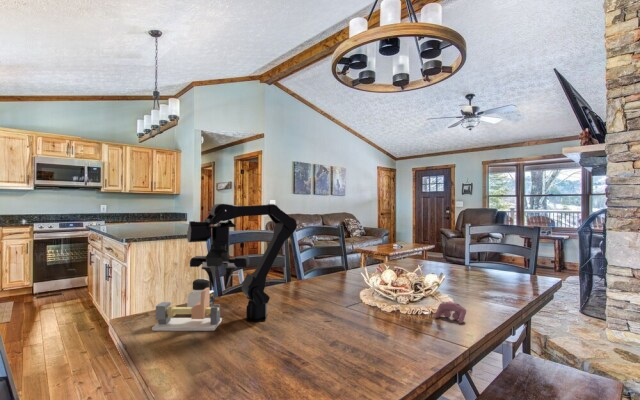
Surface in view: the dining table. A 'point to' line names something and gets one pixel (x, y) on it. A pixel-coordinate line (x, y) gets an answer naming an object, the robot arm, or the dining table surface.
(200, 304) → the sleeve
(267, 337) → the dining table surface
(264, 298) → the robot arm
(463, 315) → the video game controller
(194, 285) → the medicine bottle
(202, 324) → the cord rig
